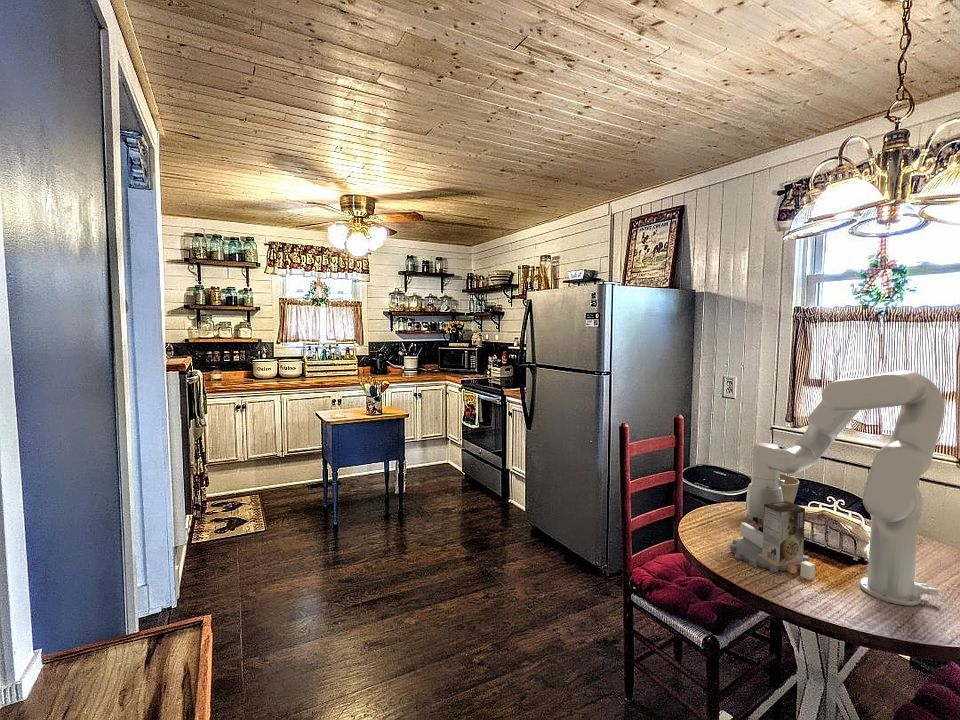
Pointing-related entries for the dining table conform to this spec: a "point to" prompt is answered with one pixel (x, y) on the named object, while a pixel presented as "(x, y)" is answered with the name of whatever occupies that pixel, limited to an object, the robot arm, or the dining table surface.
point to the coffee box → (783, 532)
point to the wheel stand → (807, 570)
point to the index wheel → (758, 551)
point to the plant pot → (789, 488)
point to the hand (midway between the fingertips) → (763, 538)
